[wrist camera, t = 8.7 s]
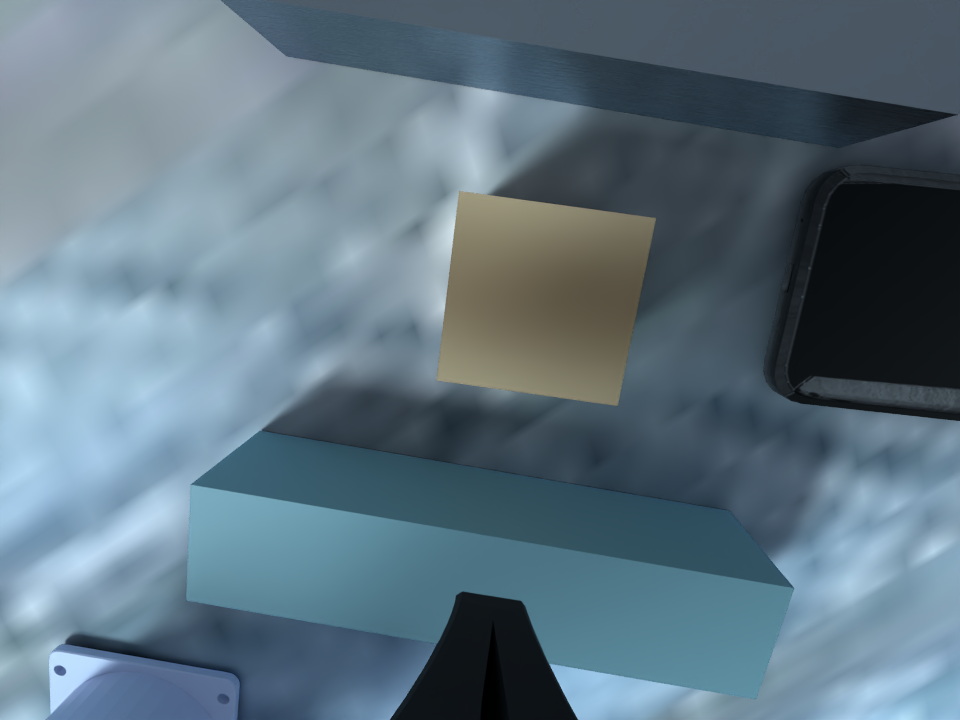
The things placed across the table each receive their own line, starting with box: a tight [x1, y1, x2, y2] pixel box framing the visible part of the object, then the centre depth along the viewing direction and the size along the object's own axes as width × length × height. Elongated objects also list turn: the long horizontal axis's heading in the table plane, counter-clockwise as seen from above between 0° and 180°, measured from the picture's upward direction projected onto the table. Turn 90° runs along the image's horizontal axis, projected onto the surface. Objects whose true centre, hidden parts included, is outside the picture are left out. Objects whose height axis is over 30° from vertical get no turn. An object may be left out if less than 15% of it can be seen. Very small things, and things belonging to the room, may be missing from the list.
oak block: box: [437, 191, 656, 406], centre depth 15 cm, size 4×4×6 cm
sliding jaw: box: [186, 431, 794, 699], centre depth 18 cm, size 4×18×4 cm, turn 81°
